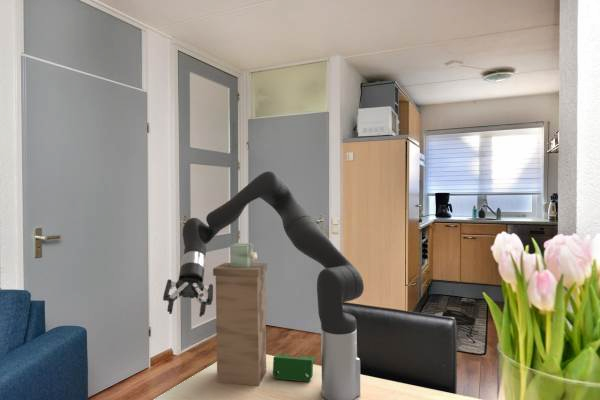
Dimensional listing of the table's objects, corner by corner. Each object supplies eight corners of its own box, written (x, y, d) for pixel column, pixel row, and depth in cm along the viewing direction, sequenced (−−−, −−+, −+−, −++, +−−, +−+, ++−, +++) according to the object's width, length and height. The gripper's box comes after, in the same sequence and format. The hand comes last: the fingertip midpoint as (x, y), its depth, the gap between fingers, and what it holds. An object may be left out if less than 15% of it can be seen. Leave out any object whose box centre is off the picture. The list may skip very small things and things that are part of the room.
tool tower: (226, 368, 116) (224, 262, 115) (268, 371, 114) (266, 263, 113) (214, 382, 107) (213, 268, 107) (260, 386, 105) (258, 269, 104)
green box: (307, 389, 112) (320, 359, 113) (303, 394, 106) (317, 363, 107) (272, 368, 115) (285, 340, 116) (266, 372, 109) (280, 342, 110)
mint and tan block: (245, 258, 123) (245, 239, 123) (261, 258, 122) (260, 239, 122) (230, 266, 109) (230, 245, 109) (247, 267, 108) (247, 245, 108)
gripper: (170, 258, 119) (161, 304, 107) (216, 264, 123) (212, 309, 111) (168, 273, 124) (159, 318, 112) (213, 278, 128) (208, 322, 116)
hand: (185, 313), depth 111 cm, fingers open, 8 cm apart
